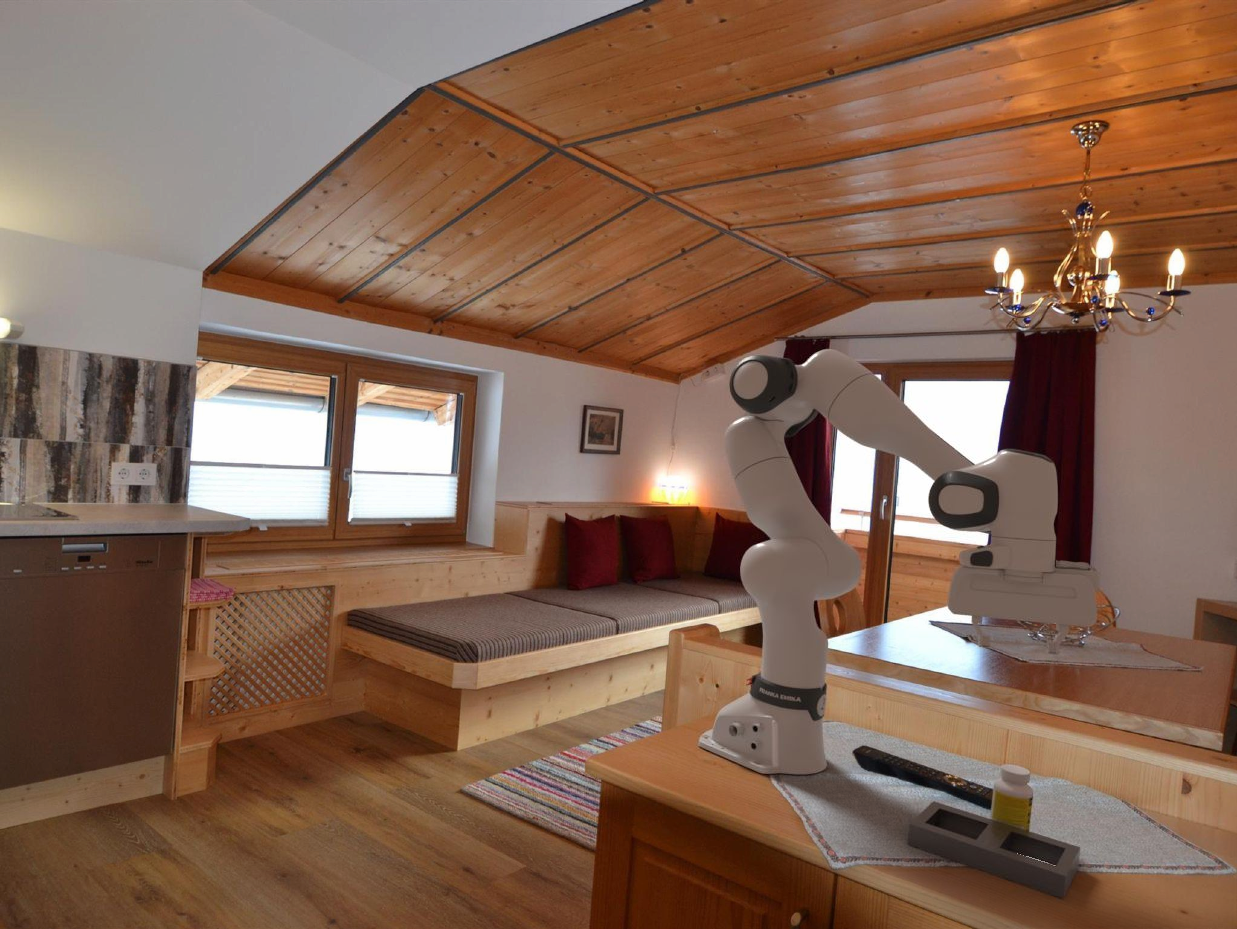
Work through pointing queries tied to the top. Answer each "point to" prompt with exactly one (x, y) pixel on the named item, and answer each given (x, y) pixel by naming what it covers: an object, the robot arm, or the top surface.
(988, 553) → the robot arm
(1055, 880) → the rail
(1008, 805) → the supplement bottle
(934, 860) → the top surface
